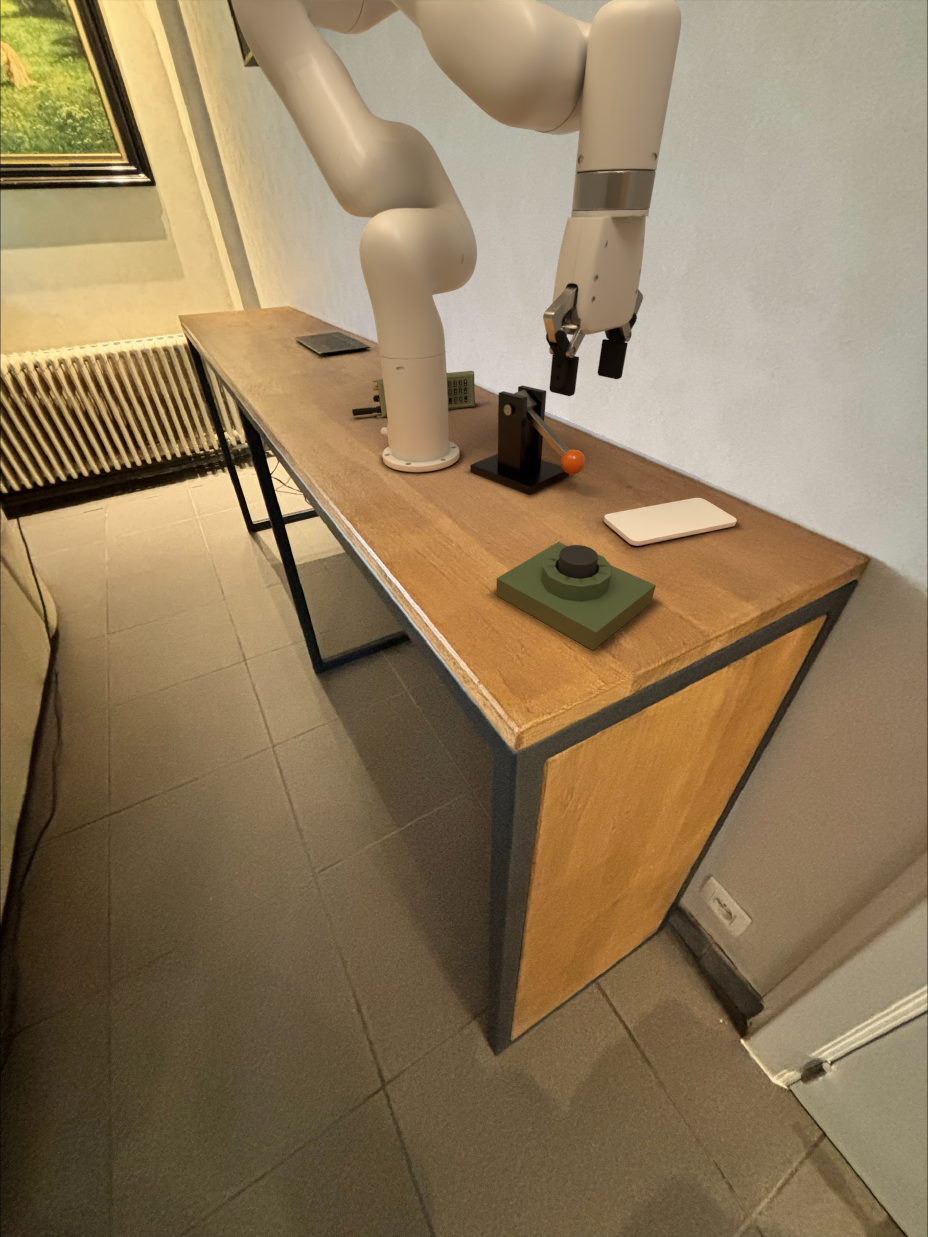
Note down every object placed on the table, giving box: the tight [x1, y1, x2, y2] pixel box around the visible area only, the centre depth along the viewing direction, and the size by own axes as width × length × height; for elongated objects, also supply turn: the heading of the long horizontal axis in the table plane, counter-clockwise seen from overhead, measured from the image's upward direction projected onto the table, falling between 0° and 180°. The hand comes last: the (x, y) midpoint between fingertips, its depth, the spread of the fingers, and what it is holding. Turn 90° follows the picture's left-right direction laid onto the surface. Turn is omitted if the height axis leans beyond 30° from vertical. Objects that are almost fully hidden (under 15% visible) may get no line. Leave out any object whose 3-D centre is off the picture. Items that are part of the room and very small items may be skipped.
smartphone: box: [603, 497, 737, 546], centre depth 62 cm, size 7×1×15 cm
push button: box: [558, 544, 599, 579], centre depth 48 cm, size 4×4×2 cm
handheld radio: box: [351, 370, 476, 419], centre depth 99 cm, size 7×3×25 cm
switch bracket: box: [469, 385, 570, 496], centre depth 72 cm, size 12×9×12 cm
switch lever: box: [513, 390, 586, 475], centre depth 68 cm, size 14×3×3 cm, turn 44°
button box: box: [495, 541, 656, 651], centre depth 49 cm, size 12×10×4 cm
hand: (586, 384), depth 60 cm, fingers open, 9 cm apart
